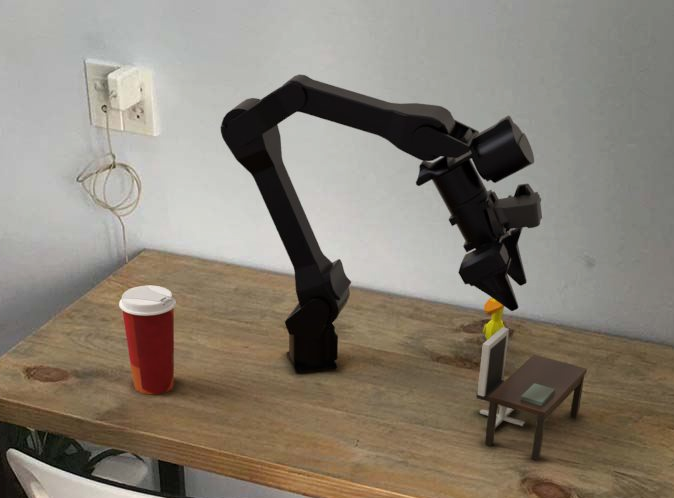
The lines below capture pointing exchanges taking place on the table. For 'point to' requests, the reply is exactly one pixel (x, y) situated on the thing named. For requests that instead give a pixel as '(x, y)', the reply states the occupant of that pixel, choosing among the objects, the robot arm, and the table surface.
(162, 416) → the table surface
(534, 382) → the desk
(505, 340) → the white black boxy frame
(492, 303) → the toy figure
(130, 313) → the paper cup
